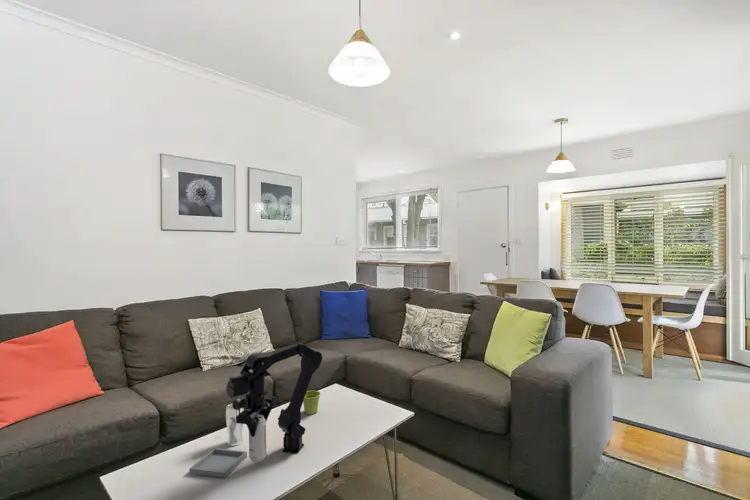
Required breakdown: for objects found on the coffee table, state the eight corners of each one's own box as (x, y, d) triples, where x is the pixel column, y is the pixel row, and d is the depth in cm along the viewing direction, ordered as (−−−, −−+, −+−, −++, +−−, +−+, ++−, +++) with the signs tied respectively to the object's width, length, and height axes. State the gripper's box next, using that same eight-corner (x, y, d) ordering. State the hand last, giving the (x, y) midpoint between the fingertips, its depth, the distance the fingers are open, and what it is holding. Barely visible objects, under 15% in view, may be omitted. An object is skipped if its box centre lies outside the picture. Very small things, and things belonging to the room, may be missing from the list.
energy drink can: (248, 456, 140) (247, 415, 140) (265, 452, 142) (264, 412, 142) (250, 464, 134) (249, 422, 134) (267, 460, 137) (266, 419, 137)
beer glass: (238, 447, 151) (237, 410, 151) (222, 445, 152) (222, 408, 152) (247, 438, 157) (247, 403, 157) (232, 437, 159) (232, 401, 159)
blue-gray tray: (246, 456, 144) (246, 451, 144) (224, 478, 130) (224, 473, 130) (214, 453, 147) (214, 447, 147) (189, 474, 133) (189, 468, 133)
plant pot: (319, 416, 178) (318, 397, 178) (299, 416, 178) (299, 398, 178) (322, 407, 187) (322, 390, 187) (303, 407, 187) (303, 390, 187)
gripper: (250, 379, 149) (251, 419, 149) (221, 398, 131) (222, 442, 131) (276, 381, 147) (277, 421, 147) (250, 400, 128) (251, 446, 128)
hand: (257, 432), depth 138 cm, fingers closed on energy drink can, 6 cm apart
